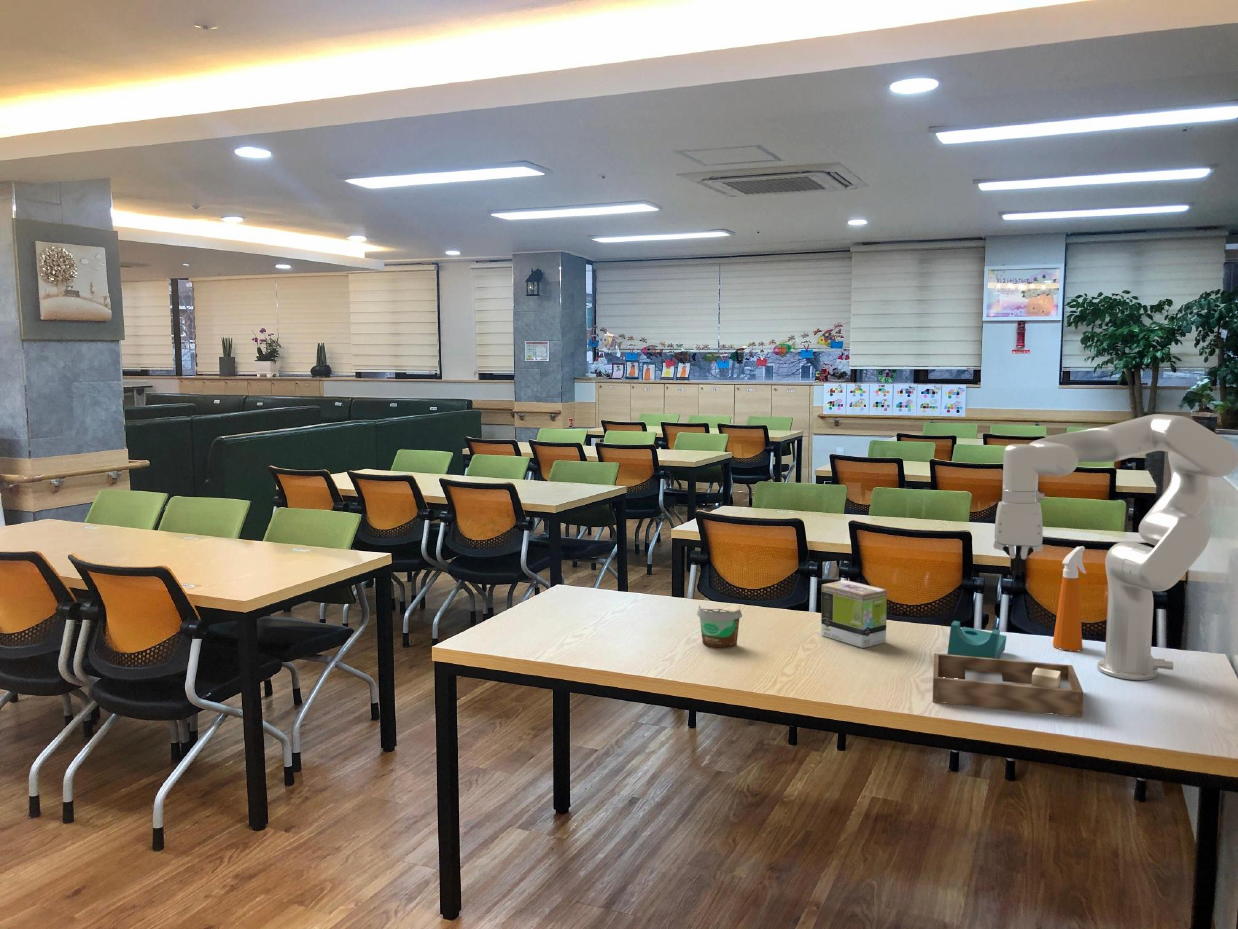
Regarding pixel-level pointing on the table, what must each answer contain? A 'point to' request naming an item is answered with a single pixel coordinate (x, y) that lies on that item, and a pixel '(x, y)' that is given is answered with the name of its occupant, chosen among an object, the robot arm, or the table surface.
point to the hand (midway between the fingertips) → (1017, 574)
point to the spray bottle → (1070, 604)
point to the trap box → (1004, 685)
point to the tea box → (854, 613)
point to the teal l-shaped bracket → (975, 642)
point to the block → (1046, 678)
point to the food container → (719, 627)
